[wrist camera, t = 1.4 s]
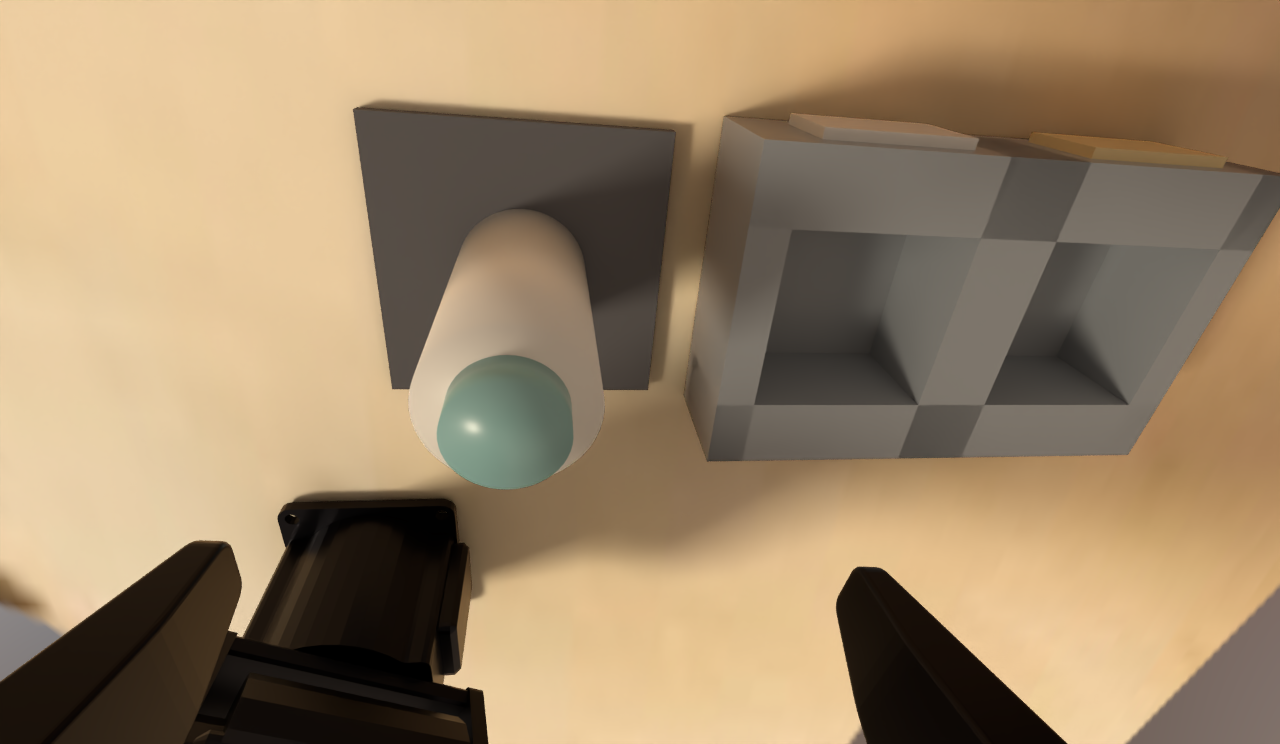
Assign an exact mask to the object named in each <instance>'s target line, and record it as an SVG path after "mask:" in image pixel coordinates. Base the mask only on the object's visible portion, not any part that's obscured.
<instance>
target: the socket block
mask: <svg viewBox="0 0 1280 744" xmlns="http://www.w3.org/2000/svg"><path fill="white" fill-rule="evenodd" d="M1227 159H1228V157H1224V156H1219V155H1214V154H1209V153H1205V152H1200V151H1195V150H1190V149H1186V148H1181V147H1176V146H1171V145H1166V144H1162V143H1157V142H1152V141H1140V140H1128V139H1115V138H1102V137H1090V136H1077V135H1064V134H1052V133H1039V132H1032V133H1031V135H1030V138H1029V139H1018V138H1005V137H992V136H979V135H966V134H961V133H958V132H954V131H951V130H947V129H944V128H940V127H937V126H934V125H930V124H925V123H912V122H899V121H887V120H874V119H861V118H848V117H836V116H823V115H810V114H798V113H790V118H789V121H783V120H770V119H757V118H744V117H731V116H724V118H723V125H722V132H721V139H720V146H719V153H718V160H717V167H716V174H715V181H714V188H713V195H712V202H711V209H710V215H709V222H708V229H707V236H706V243H705V250H704V257H703V264H702V271H701V278H700V285H699V292H698V299H697V306H696V313H695V320H694V327H693V334H692V341H691V348H690V355H689V361H688V368H687V375H686V382H685V389H684V398H685V401H686V404H687V407H688V409H689V412H690V415H691V418H692V421H693V423H694V426H695V429H696V432H697V435H698V437H699V440H700V443H701V446H702V449H703V451H704V454H705V457H706V460H707V461H760V460H825V459H889V458H954V457H1018V456H1083V455H1128V454H1129V452H1130V451H1131V449H1132V447H1133V446H1134V444H1135V443H1136V441H1137V439H1138V438H1139V436H1140V434H1141V433H1142V431H1143V430H1144V428H1145V426H1146V425H1147V423H1148V421H1149V420H1150V418H1151V417H1152V415H1153V413H1154V412H1155V410H1156V408H1157V407H1158V405H1159V403H1160V402H1161V400H1162V399H1163V397H1164V395H1165V394H1166V392H1167V390H1168V389H1169V387H1170V386H1171V384H1172V382H1173V381H1174V379H1175V377H1176V376H1177V374H1178V373H1179V371H1180V369H1181V368H1182V366H1183V364H1184V363H1185V361H1186V360H1187V358H1188V356H1189V355H1190V353H1191V351H1192V350H1193V348H1194V347H1195V345H1196V343H1197V342H1198V340H1199V338H1200V337H1201V335H1202V333H1203V332H1204V330H1205V329H1206V327H1207V325H1208V324H1209V322H1210V320H1211V319H1212V317H1213V316H1214V314H1215V312H1216V311H1217V309H1218V307H1219V306H1220V304H1221V303H1222V301H1223V299H1224V298H1225V296H1226V294H1227V293H1228V291H1229V290H1230V288H1231V286H1232V285H1233V283H1234V281H1235V280H1236V278H1237V277H1238V275H1239V273H1240V272H1241V270H1242V268H1243V267H1244V265H1245V263H1246V262H1247V260H1248V259H1249V257H1250V255H1251V254H1252V252H1253V250H1254V249H1255V247H1256V246H1257V244H1258V242H1259V241H1260V239H1261V237H1262V236H1263V234H1264V233H1265V231H1266V229H1267V228H1268V226H1269V224H1270V223H1271V221H1272V220H1273V218H1274V216H1275V215H1276V213H1277V211H1278V210H1279V208H1280V173H1276V172H1272V171H1267V170H1263V169H1258V168H1253V167H1249V166H1244V165H1239V164H1235V163H1230V162H1226V161H1227Z"/></svg>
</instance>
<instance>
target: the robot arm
mask: <svg viewBox="0 0 1280 744" xmlns="http://www.w3.org/2000/svg"><path fill="white" fill-rule="evenodd" d="M441 510H442V511H446V512H447V513H440V512H439V511H441ZM290 514H291V515H295V516H297V517H293V516H291V515H290ZM278 523H279V526H280V530H281V533H282V537H283V540H284V543H285V547H286V550H285V552H284V554H283V556H282V558H281V560H280V562H279V564H278V566H277V568H276V570H275V572H274V574H273V576H272V578H271V580H270V582H269V584H268V586H267V588H266V590H265V592H264V594H263V596H262V599H261V601H260V603H259V605H258V607H257V609H256V611H255V613H254V615H253V617H252V619H251V621H250V623H249V625H248V627H247V629H246V631H245V633H244V635H243V637H238V636H237V634H238V633H235V632H231V631H228V629H229V626H230V623H231V620H232V617H233V615H234V612H235V609H236V606H237V603H238V601H239V598H240V594H241V588H242V581H241V576H240V573H239V570H238V566H237V563H236V560H235V557H234V553H233V550H232V548H231V545H229V544H228V543H227V542H224V541H202V540H200V541H194V542H191V543H189V544H187V545H186V546H184V547H183V548H182V549H180V550H179V551H177V552H176V553H175V554H173V555H172V556H171V557H169V558H168V559H167V560H165V561H164V562H162V563H161V564H160V565H158V566H157V567H156V568H154V569H153V570H152V571H150V572H149V573H147V574H146V575H145V576H143V577H142V578H141V579H139V580H138V581H137V582H135V583H134V584H132V585H131V586H130V587H128V588H127V589H126V590H124V591H123V592H122V593H120V594H119V595H117V596H116V597H115V598H113V599H112V600H111V601H109V602H108V603H107V604H105V605H104V606H102V607H101V608H100V609H98V610H97V611H96V612H94V613H93V614H92V615H90V616H89V617H87V618H86V619H85V620H83V621H82V622H81V623H79V624H78V625H77V626H75V627H74V628H72V629H71V630H70V631H68V632H67V633H66V634H64V635H63V636H62V637H60V638H59V639H58V640H56V641H55V642H54V643H52V644H51V645H49V646H48V647H47V648H45V649H44V650H42V651H41V652H40V653H38V654H37V655H36V656H34V657H33V658H32V659H30V660H29V661H27V662H26V663H25V664H23V665H22V666H21V667H19V668H18V669H17V670H15V671H14V672H12V673H11V674H10V675H8V676H7V677H6V678H4V679H3V680H2V681H0V744H488V736H487V726H486V715H485V705H484V695H483V691H482V690H477V689H473V688H469V687H468V688H467V689H466V690H465V689H461V688H456V687H452V686H448V685H444V684H443V682H444V675H455V674H456V673H457V672H458V671H459V670H460V669H461V666H462V658H463V651H464V643H465V636H466V628H467V621H468V613H469V605H470V598H471V590H472V581H471V568H470V555H469V547H468V546H467V545H466V544H465V543H459V533H458V522H457V511H456V506H455V504H454V503H453V502H452V501H450V500H448V499H415V500H373V501H331V502H292V503H287V504H286V505H284V506H283V508H282V509H281V511H280V513H279V515H278ZM836 613H837V618H838V623H839V628H840V633H841V638H842V642H843V647H844V652H845V657H846V662H847V667H848V671H849V676H850V681H851V686H852V691H853V696H854V700H855V704H856V708H857V712H858V716H859V719H860V723H861V726H862V729H863V733H864V736H865V738H866V742H867V744H1067V743H1066V742H1065V741H1064V740H1063V739H1062V738H1061V737H1060V736H1059V735H1058V734H1057V733H1056V732H1055V731H1054V730H1052V729H1051V728H1050V727H1049V726H1048V725H1047V724H1046V723H1045V722H1044V721H1043V720H1042V719H1041V718H1040V717H1039V716H1038V715H1037V714H1036V713H1035V712H1034V711H1032V710H1031V709H1030V708H1029V707H1028V706H1027V705H1026V704H1025V703H1024V702H1023V701H1022V700H1021V699H1020V698H1019V697H1018V696H1017V695H1016V694H1015V693H1014V692H1012V691H1011V690H1010V689H1009V688H1008V687H1007V686H1006V685H1005V684H1004V683H1003V682H1002V681H1001V680H1000V679H999V678H998V677H997V676H996V675H995V674H994V673H992V672H991V671H990V670H989V669H988V668H987V667H986V666H985V665H984V664H983V663H982V662H981V661H980V660H979V659H978V658H977V657H976V656H975V655H974V654H972V653H971V652H970V651H969V650H968V649H967V648H966V647H965V646H964V645H963V644H962V643H961V642H960V641H959V640H958V639H957V638H956V637H955V636H954V635H952V634H951V633H950V632H949V631H948V630H947V629H946V628H945V627H944V626H943V625H942V624H941V623H940V622H939V621H938V620H937V619H936V618H935V617H934V616H932V615H931V614H930V613H929V612H928V611H927V610H926V609H925V608H924V607H923V606H922V605H921V604H920V603H919V602H918V601H917V600H916V599H915V598H914V597H912V596H911V595H910V594H909V593H908V592H907V591H906V590H905V589H904V588H903V587H902V586H901V585H900V584H899V583H898V582H897V581H896V580H895V579H894V578H892V577H891V576H890V575H889V574H888V573H887V572H886V571H885V570H883V569H881V568H877V567H857V568H855V569H854V570H853V571H852V572H851V574H850V576H849V578H848V580H847V581H846V583H845V585H844V587H843V588H842V590H841V592H840V594H839V596H838V598H837V602H836Z"/></svg>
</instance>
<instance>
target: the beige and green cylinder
mask: <svg viewBox="0 0 1280 744" xmlns="http://www.w3.org/2000/svg"><path fill="white" fill-rule="evenodd" d="M408 404H409V413H410V418H411V422H412V424H413V427H414V430H415V432H416V433H417V435H418V437H419V439H420V440H421V442H422V443H423V444H424V446H425V447H426V448H427V449H428V450H429V451H430V452H431V453H432V454H433V455H434V456H435V457H436V458H437V459H438V460H439V461H441V462H442V463H443V464H445V465H446V466H448V467H450V468H451V469H453V470H454V471H455V472H456V473H457V474H459V475H460V476H461V477H463V478H465V479H466V480H468V481H470V482H472V483H475V484H478V485H480V486H484V487H488V488H494V489H519V488H524V487H528V486H532V485H534V484H537V483H539V482H542V481H543V480H545V479H547V478H549V477H550V476H552V475H553V474H556V473H558V472H560V471H562V470H564V469H565V468H567V467H569V466H570V465H571V464H573V463H574V462H576V461H577V460H578V459H579V458H580V457H581V456H582V455H584V453H585V452H586V451H587V450H588V449H589V448H590V446H591V445H592V443H593V442H594V440H595V439H596V437H597V435H598V433H599V431H600V428H601V425H602V422H603V418H604V411H605V399H604V392H603V385H602V378H601V372H600V365H599V358H598V351H597V344H596V338H595V331H594V324H593V317H592V311H591V304H590V297H589V290H588V283H587V277H586V270H585V263H584V258H583V254H582V251H581V249H580V247H579V244H578V242H577V241H576V239H575V238H574V236H573V235H572V234H571V233H570V231H569V230H568V229H567V228H566V227H565V226H564V225H562V224H561V223H560V222H558V221H557V220H556V219H554V218H552V217H550V216H548V215H546V214H543V213H541V212H537V211H533V210H528V209H510V210H504V211H500V212H497V213H494V214H492V215H490V216H488V217H486V218H485V219H483V220H481V221H480V222H479V223H478V224H477V225H475V226H474V228H473V229H472V230H471V231H470V232H469V234H468V235H467V237H466V238H465V240H464V242H463V244H462V247H461V249H460V252H459V255H458V257H457V260H456V263H455V266H454V268H453V271H452V274H451V276H450V279H449V282H448V284H447V287H446V290H445V292H444V295H443V298H442V300H441V303H440V306H439V308H438V311H437V314H436V317H435V319H434V322H433V325H432V327H431V330H430V333H429V335H428V338H427V341H426V343H425V346H424V349H423V351H422V354H421V357H420V359H419V362H418V365H417V367H416V370H415V373H414V376H413V378H412V382H411V385H410V389H409V397H408Z"/></svg>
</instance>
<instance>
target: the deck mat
mask: <svg viewBox="0 0 1280 744" xmlns="http://www.w3.org/2000/svg"><path fill="white" fill-rule="evenodd" d="M353 112H354V119H355V126H356V133H357V140H358V148H359V155H360V162H361V169H362V176H363V183H364V190H365V198H366V205H367V212H368V219H369V226H370V233H371V240H372V247H373V255H374V262H375V269H376V276H377V283H378V290H379V297H380V304H381V312H382V319H383V326H384V333H385V340H386V347H387V354H388V361H389V369H390V376H391V383H392V389H410V385H411V382H412V378H413V376H414V373H415V370H416V367H417V365H418V362H419V359H420V357H421V354H422V351H423V349H424V346H425V343H426V341H427V338H428V335H429V333H430V330H431V327H432V325H433V322H434V319H435V317H436V314H437V311H438V308H439V306H440V303H441V300H442V298H443V295H444V292H445V290H446V287H447V284H448V282H449V279H450V276H451V274H452V271H453V268H454V266H455V263H456V260H457V257H458V255H459V252H460V249H461V247H462V244H463V242H464V240H465V238H466V237H467V235H468V234H469V232H470V231H471V230H472V229H473V228H474V226H475V225H477V224H478V223H479V222H480V221H481V220H483V219H485V218H486V217H488V216H490V215H492V214H494V213H497V212H500V211H504V210H510V209H528V210H533V211H537V212H541V213H543V214H546V215H548V216H550V217H552V218H554V219H556V220H557V221H558V222H560V223H561V224H562V225H564V226H565V227H566V228H567V229H568V230H569V231H570V233H571V234H572V235H573V236H574V238H575V239H576V241H577V242H578V244H579V247H580V249H581V251H582V254H583V258H584V263H585V270H586V277H587V283H588V290H589V297H590V304H591V311H592V317H593V324H594V331H595V338H596V344H597V351H598V358H599V365H600V372H601V378H602V385H603V390H648V383H649V374H650V365H651V356H652V346H653V337H654V328H655V319H656V309H657V300H658V291H659V282H660V272H661V263H662V254H663V245H664V235H665V226H666V217H667V208H668V198H669V189H670V180H671V171H672V161H673V152H674V143H675V134H676V132H675V131H674V130H665V129H651V128H637V127H623V126H609V125H596V124H582V123H568V122H554V121H540V120H526V119H512V118H498V117H484V116H470V115H456V114H442V113H428V112H415V111H401V110H387V109H373V108H359V107H357V108H355V109H353Z"/></svg>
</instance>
